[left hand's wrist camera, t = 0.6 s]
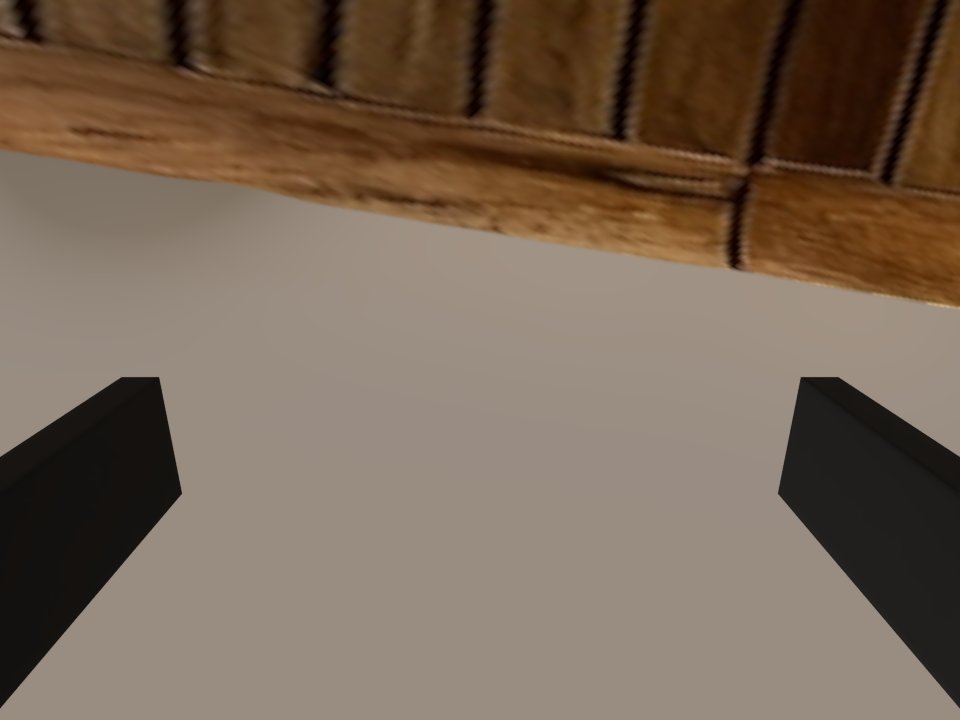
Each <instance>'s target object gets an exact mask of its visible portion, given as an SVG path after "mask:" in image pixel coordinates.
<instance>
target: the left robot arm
mask: <svg viewBox="0 0 960 720" xmlns="http://www.w3.org/2000/svg"><path fill="white" fill-rule="evenodd" d="M181 494H182V491H181V486H180V481H179V476H178V471H177V466H176V460H175V455H174V451H173V445H172V440H171V435H170V430H169V425H168V420H167V415H166V410H165V405H164V400H163V395H162V389H161V385H160V379H159V377H121V378H120V379H118V380H117V381H115V382H114V383H112V384H111V385H109V386H108V387H106V388H104V389H103V390H101V391H100V392H98V393H97V394H95V395H94V396H92V397H91V398H89V399H88V400H86V401H85V402H83V403H82V404H80V405H79V406H77V407H76V408H74V409H73V410H71V411H70V412H68V413H66V414H65V415H63V416H62V417H60V418H59V419H57V420H56V421H54V422H53V423H51V424H50V425H48V426H47V427H45V428H44V429H42V430H41V431H39V432H37V433H36V434H34V435H33V436H31V437H30V438H28V439H27V440H25V441H24V442H22V443H21V444H19V445H18V446H16V447H15V448H13V449H12V450H10V451H9V452H7V453H6V454H4V455H3V456H1V457H0V708H1V707H2V706H3V704H4V703H5V702H6V701H7V700H8V698H9V697H10V696H11V695H12V694H13V693H14V691H15V690H16V689H17V688H18V687H19V686H20V684H21V683H22V682H23V681H24V680H25V678H26V677H27V676H28V675H29V674H30V673H31V671H32V670H33V669H34V668H35V667H36V665H37V664H38V663H39V662H40V661H41V659H42V658H43V657H44V656H45V655H46V654H47V652H48V651H49V650H50V649H51V648H52V646H53V645H54V644H55V643H56V642H57V641H58V639H59V638H60V637H61V636H62V635H63V634H64V632H65V631H66V630H67V629H68V628H69V626H70V625H71V624H72V623H73V622H74V621H75V619H76V618H77V617H78V616H79V615H80V613H81V612H82V611H83V610H84V609H85V608H86V606H87V605H88V604H89V603H90V602H91V600H92V599H93V598H94V597H95V596H96V595H97V593H98V592H99V591H100V590H101V589H102V588H103V586H104V585H105V584H106V583H107V582H108V580H109V579H110V578H111V577H112V576H113V574H114V573H115V572H116V571H117V570H118V569H119V567H120V566H121V565H122V564H123V563H124V561H125V560H126V559H127V558H128V557H129V556H130V554H131V553H132V552H133V551H134V550H135V549H136V547H137V546H138V545H139V544H140V543H141V541H142V540H143V539H144V538H145V537H146V536H147V534H148V533H149V532H150V531H151V530H152V528H153V527H154V526H155V525H156V524H157V523H158V521H159V520H160V519H161V518H162V517H163V515H164V514H165V513H166V512H167V511H168V510H169V508H170V507H171V506H172V505H173V504H174V502H175V501H176V500H177V499H178V498H179V497H180V495H181ZM778 494H779V495H780V497H781V498H782V499H783V500H784V501H785V502H786V504H787V505H788V506H789V507H790V508H791V510H792V511H793V512H794V513H795V514H796V515H797V517H798V518H799V519H800V520H801V521H802V523H803V524H804V525H805V526H806V527H807V528H808V530H809V531H810V532H811V533H812V534H813V536H814V537H815V538H816V539H817V540H818V541H819V543H820V544H821V545H822V546H823V547H824V549H825V550H826V551H827V552H828V553H829V554H830V556H831V557H832V558H833V559H834V560H835V562H836V563H837V564H838V565H839V566H840V567H841V569H842V570H843V571H844V572H845V573H846V574H847V576H848V577H849V578H850V579H851V580H852V582H853V583H854V584H855V585H856V586H857V587H858V589H859V590H860V591H861V592H862V593H863V595H864V596H865V597H866V598H867V599H868V600H869V602H870V603H871V604H872V605H873V606H874V607H875V609H876V610H877V611H878V612H879V613H880V615H881V616H882V617H883V618H884V619H885V621H886V622H887V623H888V624H889V625H890V626H891V628H892V629H893V630H894V631H895V632H896V634H897V635H898V636H899V637H900V638H901V639H902V641H903V642H904V643H905V644H906V645H907V647H908V648H909V649H910V650H911V651H912V652H913V654H914V655H915V656H916V657H917V658H918V660H919V661H920V662H921V663H922V664H923V665H924V667H925V668H926V669H927V670H928V671H929V673H930V674H931V675H932V676H933V677H934V678H935V680H936V681H937V682H938V683H939V684H940V686H941V687H942V688H943V689H944V690H945V691H946V693H947V694H948V695H949V696H950V697H951V698H952V700H953V701H954V702H955V703H956V704H957V706H958V707H959V708H960V457H959V456H958V455H956V454H954V453H953V452H951V451H950V450H948V449H947V448H945V447H944V446H942V445H941V444H939V443H938V442H936V441H935V440H933V439H932V438H930V437H929V436H927V435H926V434H924V433H922V432H921V431H919V430H918V429H916V428H915V427H913V426H912V425H910V424H909V423H907V422H906V421H904V420H903V419H901V418H900V417H898V416H897V415H895V414H894V413H892V412H891V411H889V410H887V409H886V408H884V407H883V406H881V405H880V404H878V403H877V402H875V401H874V400H872V399H871V398H869V397H868V396H866V395H865V394H863V393H862V392H860V391H859V390H857V389H855V388H854V387H853V386H851V385H849V384H848V383H846V382H845V381H843V380H842V379H840V378H839V377H801V380H800V385H799V389H798V395H797V400H796V405H795V410H794V415H793V420H792V425H791V430H790V435H789V440H788V445H787V450H786V455H785V460H784V466H783V471H782V476H781V481H780V486H779V491H778Z"/></svg>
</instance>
